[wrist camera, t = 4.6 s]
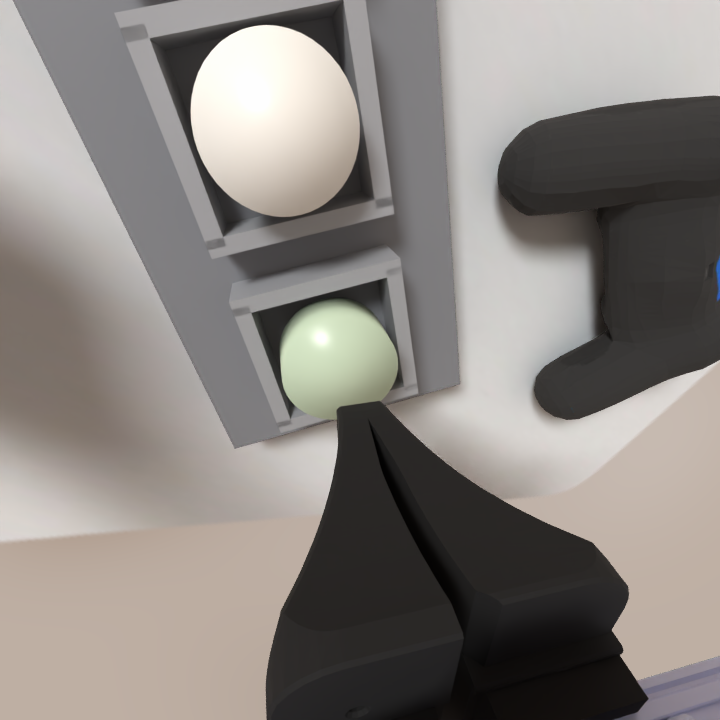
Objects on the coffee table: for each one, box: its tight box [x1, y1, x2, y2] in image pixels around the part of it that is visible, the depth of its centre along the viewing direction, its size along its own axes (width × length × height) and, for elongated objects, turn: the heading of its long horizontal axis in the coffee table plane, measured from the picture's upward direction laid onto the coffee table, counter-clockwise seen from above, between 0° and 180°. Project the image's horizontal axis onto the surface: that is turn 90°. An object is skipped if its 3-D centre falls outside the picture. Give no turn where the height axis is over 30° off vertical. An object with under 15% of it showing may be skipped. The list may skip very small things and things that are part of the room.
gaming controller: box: [498, 96, 720, 420], centre depth 20 cm, size 17×6×10 cm
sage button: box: [279, 298, 398, 420], centre depth 16 cm, size 4×4×2 cm
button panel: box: [13, 0, 460, 449], centre depth 14 cm, size 12×26×4 cm, turn 11°
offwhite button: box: [191, 25, 360, 217], centre depth 12 cm, size 4×4×2 cm
